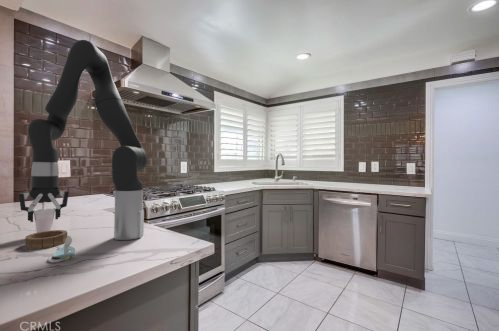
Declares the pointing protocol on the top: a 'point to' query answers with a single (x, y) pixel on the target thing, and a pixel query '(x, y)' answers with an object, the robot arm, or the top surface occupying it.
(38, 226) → the smoothie
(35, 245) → the brown polygonal ring
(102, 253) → the top surface
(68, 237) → the pacifier
